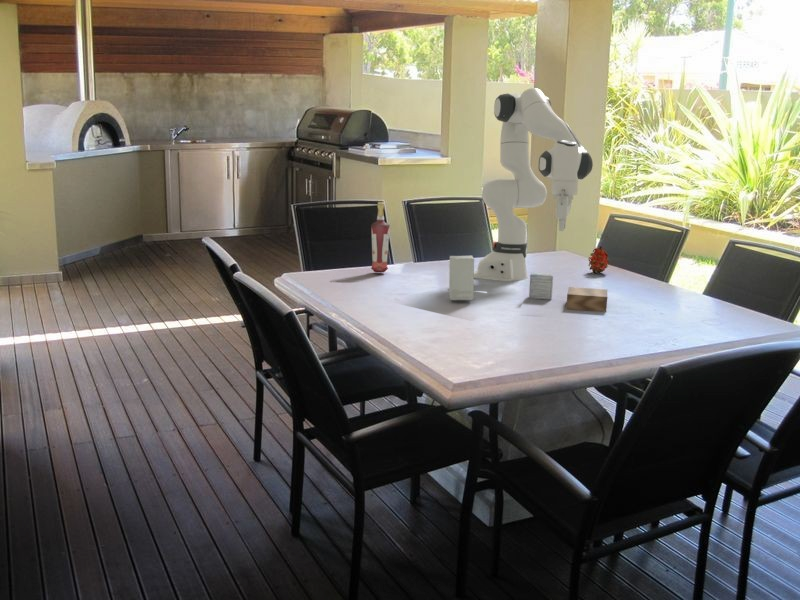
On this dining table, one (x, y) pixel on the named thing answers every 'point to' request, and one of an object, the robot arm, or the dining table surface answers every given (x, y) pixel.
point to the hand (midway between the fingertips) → (561, 229)
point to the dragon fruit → (598, 260)
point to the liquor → (380, 241)
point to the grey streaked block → (541, 286)
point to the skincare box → (461, 278)
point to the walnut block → (587, 299)
